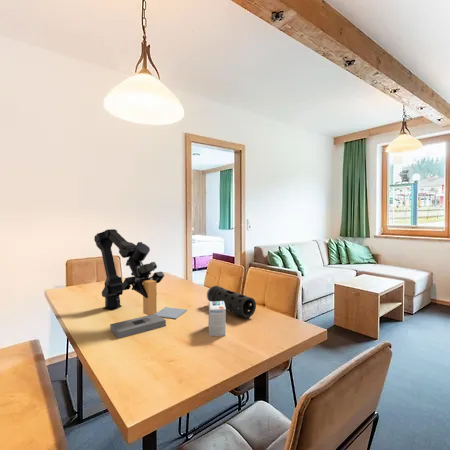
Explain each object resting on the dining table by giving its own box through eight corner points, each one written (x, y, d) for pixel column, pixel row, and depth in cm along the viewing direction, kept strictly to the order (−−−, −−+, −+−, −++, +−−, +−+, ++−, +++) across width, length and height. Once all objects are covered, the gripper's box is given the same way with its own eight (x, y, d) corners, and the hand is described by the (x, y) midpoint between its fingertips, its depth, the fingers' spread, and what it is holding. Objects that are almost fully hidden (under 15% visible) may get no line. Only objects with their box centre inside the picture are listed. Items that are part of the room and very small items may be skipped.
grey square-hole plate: (110, 330, 118) (110, 324, 118) (155, 319, 130) (155, 313, 130) (118, 338, 110) (118, 332, 110) (165, 325, 123) (165, 320, 123)
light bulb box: (208, 325, 123) (208, 300, 123) (224, 325, 124) (224, 300, 123) (209, 336, 112) (209, 309, 112) (226, 335, 113) (226, 308, 112)
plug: (143, 313, 124) (143, 281, 123) (151, 310, 127) (150, 279, 126) (148, 315, 121) (148, 282, 121) (156, 313, 124) (156, 281, 124)
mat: (152, 316, 134) (152, 315, 134) (165, 308, 146) (165, 307, 146) (175, 319, 130) (175, 318, 130) (187, 310, 142) (187, 309, 142)
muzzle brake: (241, 322, 128) (241, 299, 127) (205, 306, 149) (205, 286, 149) (256, 317, 133) (256, 295, 133) (219, 302, 155) (219, 283, 155)
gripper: (124, 258, 119) (139, 290, 112) (161, 254, 133) (177, 281, 126) (115, 274, 124) (129, 305, 117) (152, 268, 138) (166, 295, 131)
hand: (151, 296), depth 123 cm, fingers closed on plug, 4 cm apart
